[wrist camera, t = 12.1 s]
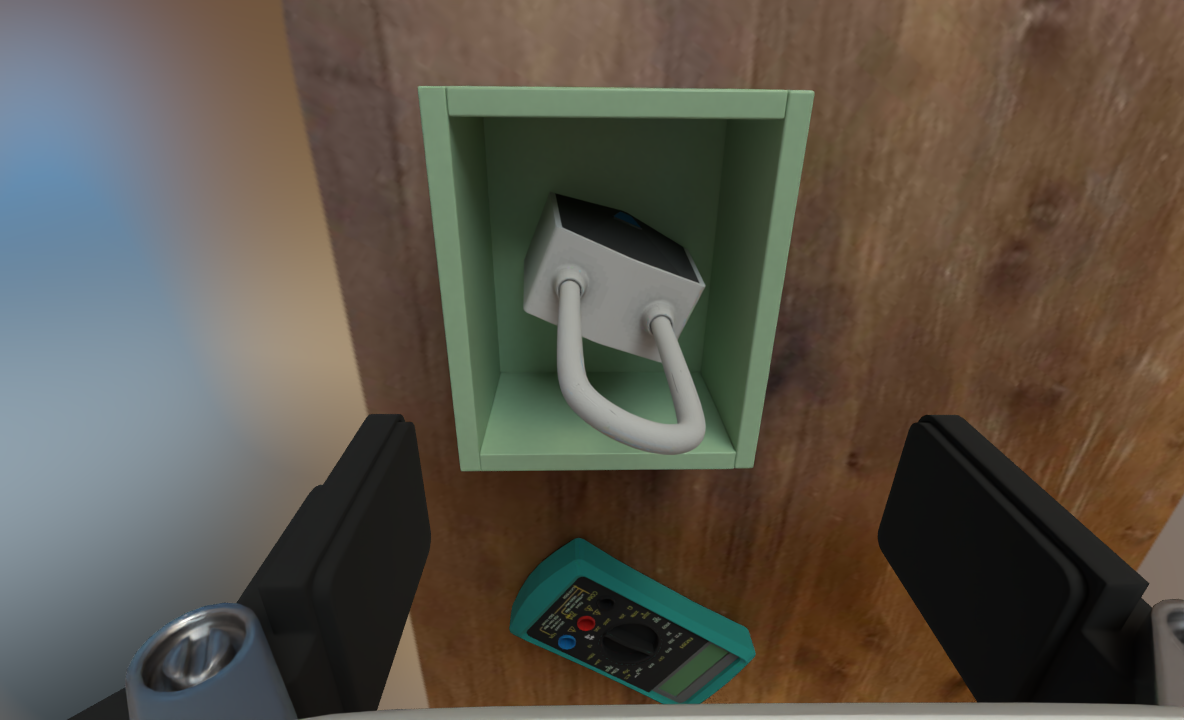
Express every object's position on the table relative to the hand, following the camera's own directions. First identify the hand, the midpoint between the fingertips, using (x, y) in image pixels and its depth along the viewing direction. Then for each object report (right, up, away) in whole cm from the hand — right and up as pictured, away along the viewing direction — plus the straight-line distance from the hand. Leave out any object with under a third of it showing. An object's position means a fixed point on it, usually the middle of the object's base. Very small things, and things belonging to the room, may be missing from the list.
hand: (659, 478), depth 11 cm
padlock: (-1, +7, +15) cm, 17 cm away
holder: (-1, +7, +16) cm, 17 cm away
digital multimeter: (+1, -14, +26) cm, 30 cm away
